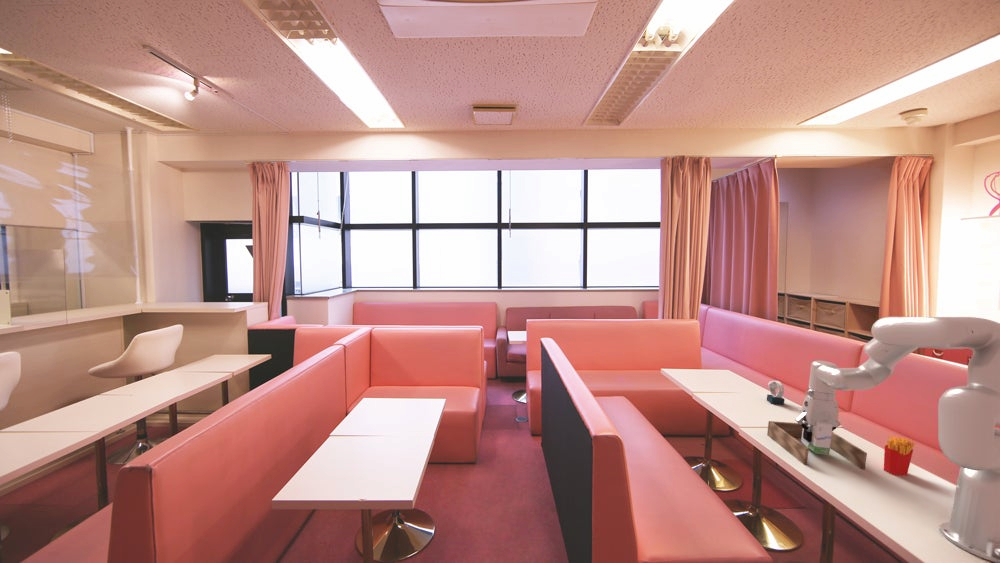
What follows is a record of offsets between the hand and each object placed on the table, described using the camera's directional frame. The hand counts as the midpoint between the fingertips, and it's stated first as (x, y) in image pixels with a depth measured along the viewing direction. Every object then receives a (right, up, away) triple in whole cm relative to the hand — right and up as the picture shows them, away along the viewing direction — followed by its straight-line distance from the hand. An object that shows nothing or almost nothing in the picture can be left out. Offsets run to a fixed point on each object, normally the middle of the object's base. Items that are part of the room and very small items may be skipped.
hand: (815, 440), depth 135 cm
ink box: (0, -3, 0) cm, 3 cm away
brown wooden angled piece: (0, -5, +1) cm, 5 cm away
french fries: (+19, -7, -10) cm, 22 cm away
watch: (+19, -1, +45) cm, 49 cm away
